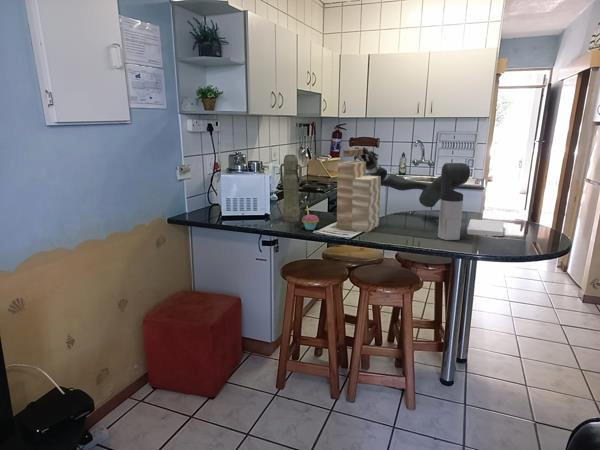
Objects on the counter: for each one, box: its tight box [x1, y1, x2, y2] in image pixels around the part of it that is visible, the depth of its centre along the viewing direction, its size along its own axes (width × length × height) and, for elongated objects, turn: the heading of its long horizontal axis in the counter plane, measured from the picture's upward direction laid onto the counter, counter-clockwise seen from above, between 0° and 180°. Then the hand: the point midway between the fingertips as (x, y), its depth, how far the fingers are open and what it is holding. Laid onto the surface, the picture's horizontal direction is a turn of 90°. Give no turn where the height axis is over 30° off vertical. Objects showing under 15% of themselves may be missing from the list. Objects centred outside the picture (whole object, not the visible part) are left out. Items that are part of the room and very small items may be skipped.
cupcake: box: [301, 205, 320, 231], centre depth 197 cm, size 9×8×12 cm
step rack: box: [336, 160, 381, 233], centre depth 197 cm, size 16×16×32 cm
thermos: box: [279, 154, 303, 223], centre depth 213 cm, size 9×12×35 cm
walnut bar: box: [342, 147, 369, 158], centre depth 199 cm, size 24×3×3 cm, turn 149°
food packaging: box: [466, 218, 505, 237], centre depth 191 cm, size 15×3×20 cm
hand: (360, 149), depth 202 cm, fingers closed on walnut bar, 3 cm apart
